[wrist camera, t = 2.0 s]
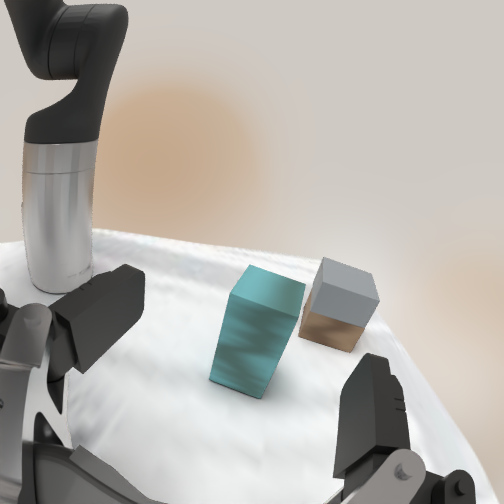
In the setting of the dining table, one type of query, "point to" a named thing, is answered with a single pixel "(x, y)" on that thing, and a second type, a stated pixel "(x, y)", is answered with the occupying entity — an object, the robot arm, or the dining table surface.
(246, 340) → the teal pillar
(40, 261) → the robot arm
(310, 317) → the walnut slab
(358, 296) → the grey slab
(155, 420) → the dining table surface
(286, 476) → the dining table surface
